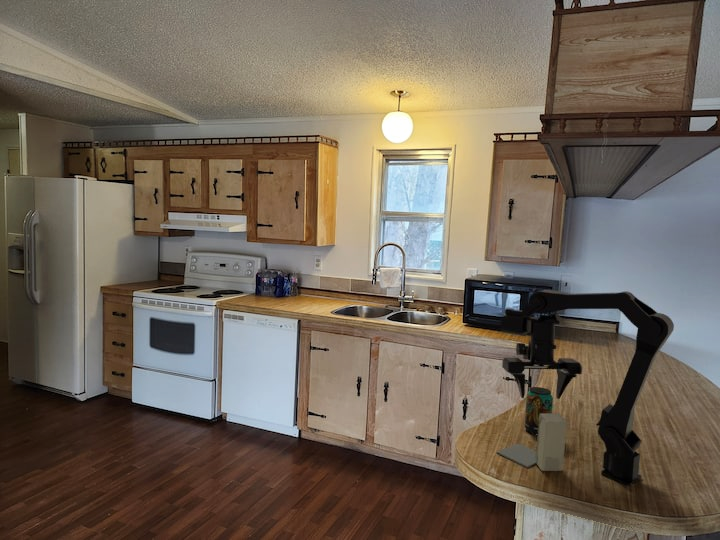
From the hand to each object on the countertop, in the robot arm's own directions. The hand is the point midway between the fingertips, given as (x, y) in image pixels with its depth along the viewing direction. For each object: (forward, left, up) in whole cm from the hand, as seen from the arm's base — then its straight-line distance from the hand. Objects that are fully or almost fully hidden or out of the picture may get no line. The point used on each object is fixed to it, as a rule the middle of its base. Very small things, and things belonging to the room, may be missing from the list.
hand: (540, 398), depth 124 cm
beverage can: (+7, -10, -14) cm, 18 cm away
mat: (0, +7, -14) cm, 15 cm away
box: (-7, +7, -14) cm, 17 cm away
